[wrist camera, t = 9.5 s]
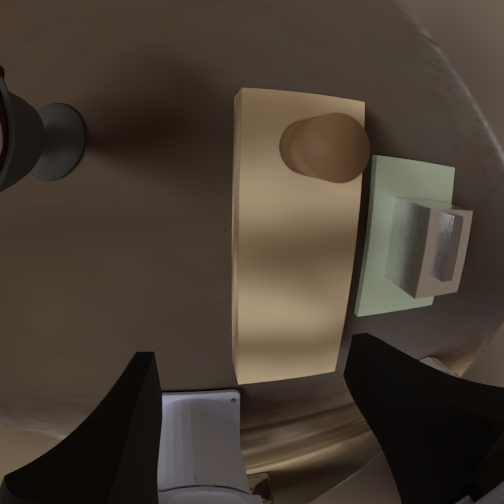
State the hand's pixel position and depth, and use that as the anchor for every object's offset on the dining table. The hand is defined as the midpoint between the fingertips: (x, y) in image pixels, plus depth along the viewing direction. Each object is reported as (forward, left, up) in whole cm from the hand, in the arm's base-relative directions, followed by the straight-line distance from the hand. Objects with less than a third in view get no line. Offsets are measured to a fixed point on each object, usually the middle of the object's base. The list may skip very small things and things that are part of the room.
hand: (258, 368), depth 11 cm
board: (+2, -14, -10) cm, 17 cm away
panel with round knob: (+2, -4, -10) cm, 11 cm away
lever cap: (+2, -14, -10) cm, 17 cm away
